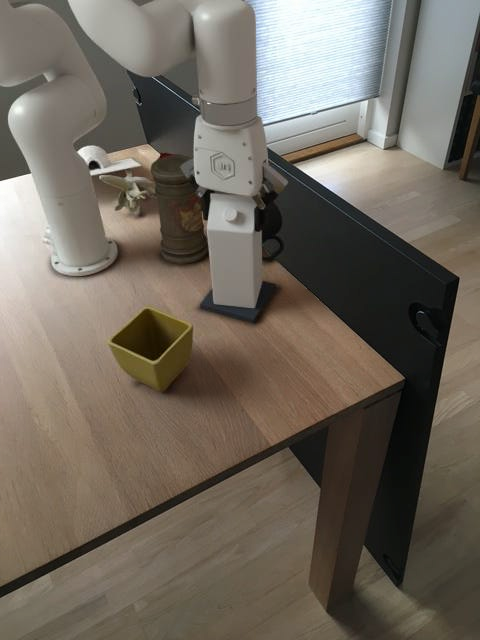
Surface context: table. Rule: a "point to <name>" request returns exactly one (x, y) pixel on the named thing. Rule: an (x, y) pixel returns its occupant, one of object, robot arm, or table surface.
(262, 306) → the slate mat
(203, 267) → the table surface
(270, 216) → the mug
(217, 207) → the milk carton
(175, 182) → the container
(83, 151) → the igloo
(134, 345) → the flower pot
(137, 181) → the pale green plant
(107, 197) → the table surface
